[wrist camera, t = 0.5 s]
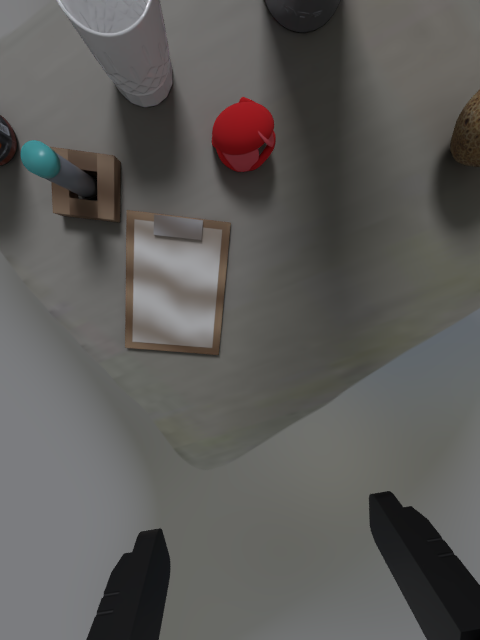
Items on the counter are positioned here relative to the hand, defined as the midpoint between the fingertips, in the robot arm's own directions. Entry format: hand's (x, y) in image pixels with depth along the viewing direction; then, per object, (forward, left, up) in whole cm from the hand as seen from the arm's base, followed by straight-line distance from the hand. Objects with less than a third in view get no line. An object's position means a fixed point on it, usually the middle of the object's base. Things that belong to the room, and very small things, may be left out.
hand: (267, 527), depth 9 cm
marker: (-17, -20, -27) cm, 37 cm away
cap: (-24, -2, -27) cm, 36 cm away
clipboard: (-6, -9, -27) cm, 29 cm away
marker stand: (-17, -20, -27) cm, 37 cm away
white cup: (-30, -14, -27) cm, 43 cm away
